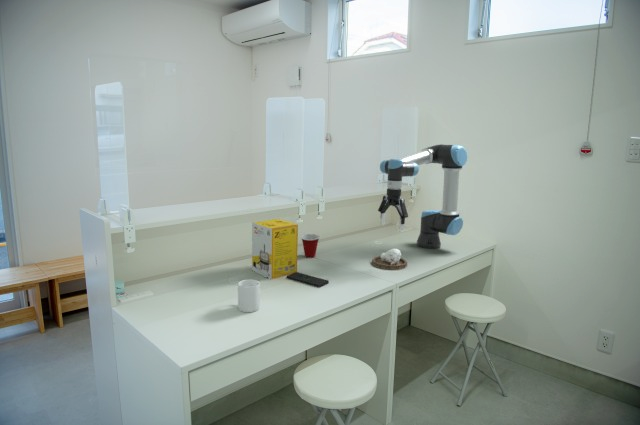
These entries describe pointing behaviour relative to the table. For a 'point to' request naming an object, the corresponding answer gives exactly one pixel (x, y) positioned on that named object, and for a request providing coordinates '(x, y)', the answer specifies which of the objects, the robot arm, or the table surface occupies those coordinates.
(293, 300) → the table surface
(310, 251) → the plastic cup
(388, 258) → the white piece
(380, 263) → the coaster
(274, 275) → the packaging box
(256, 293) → the mug
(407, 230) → the table surface
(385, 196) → the robot arm
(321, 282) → the smart home device
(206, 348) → the table surface
